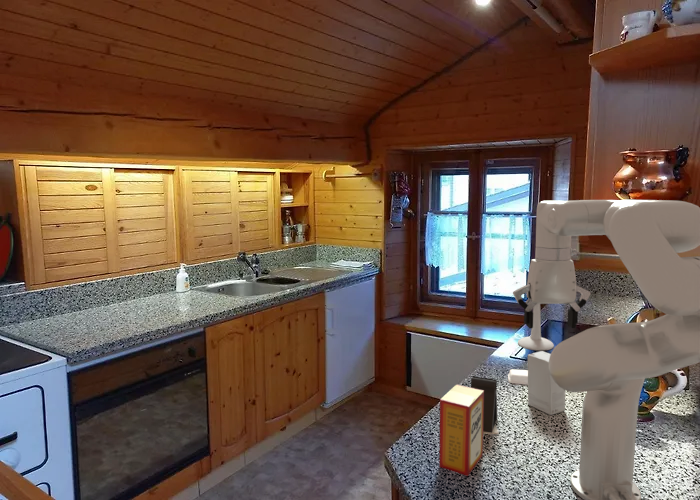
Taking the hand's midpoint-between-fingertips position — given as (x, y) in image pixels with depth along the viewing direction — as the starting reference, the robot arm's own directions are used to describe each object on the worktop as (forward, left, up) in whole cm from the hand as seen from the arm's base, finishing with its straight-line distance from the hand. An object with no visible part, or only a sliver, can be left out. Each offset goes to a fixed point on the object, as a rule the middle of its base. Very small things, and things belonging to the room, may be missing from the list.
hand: (550, 326), depth 116 cm
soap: (+36, -4, -29) cm, 46 cm away
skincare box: (+17, -5, -28) cm, 34 cm away
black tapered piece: (+7, +14, -28) cm, 32 cm away
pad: (+7, +14, -28) cm, 32 cm away
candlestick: (+70, -18, -28) cm, 78 cm away
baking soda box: (-10, +22, -28) cm, 37 cm away
